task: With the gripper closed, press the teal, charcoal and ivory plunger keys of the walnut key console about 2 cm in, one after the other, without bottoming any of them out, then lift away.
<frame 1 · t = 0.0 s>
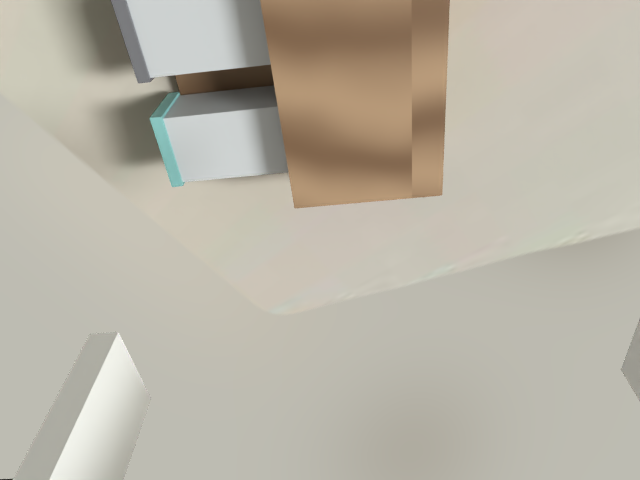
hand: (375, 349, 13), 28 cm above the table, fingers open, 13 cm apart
teal key: (257, 130, 35), point 4 cm above the table, slide at 0.0 cm
charcoal key: (234, 19, 31), point 3 cm above the table, slide at 0.0 cm
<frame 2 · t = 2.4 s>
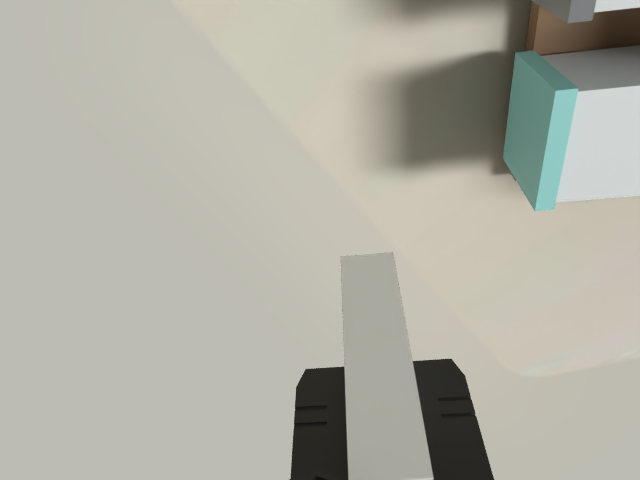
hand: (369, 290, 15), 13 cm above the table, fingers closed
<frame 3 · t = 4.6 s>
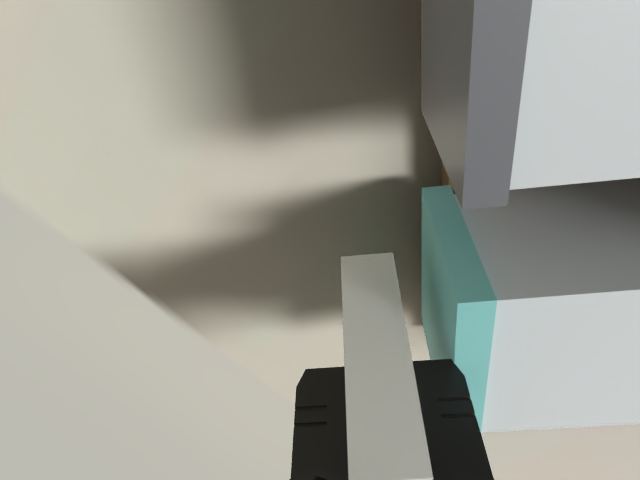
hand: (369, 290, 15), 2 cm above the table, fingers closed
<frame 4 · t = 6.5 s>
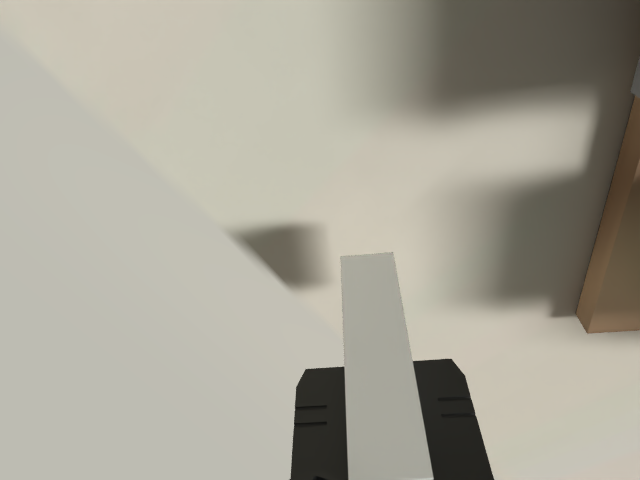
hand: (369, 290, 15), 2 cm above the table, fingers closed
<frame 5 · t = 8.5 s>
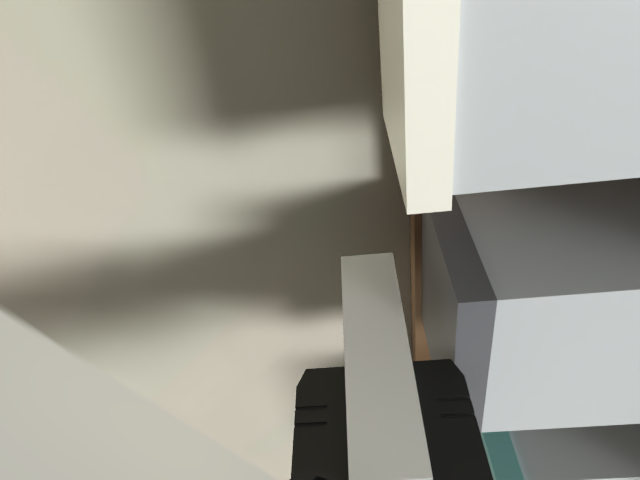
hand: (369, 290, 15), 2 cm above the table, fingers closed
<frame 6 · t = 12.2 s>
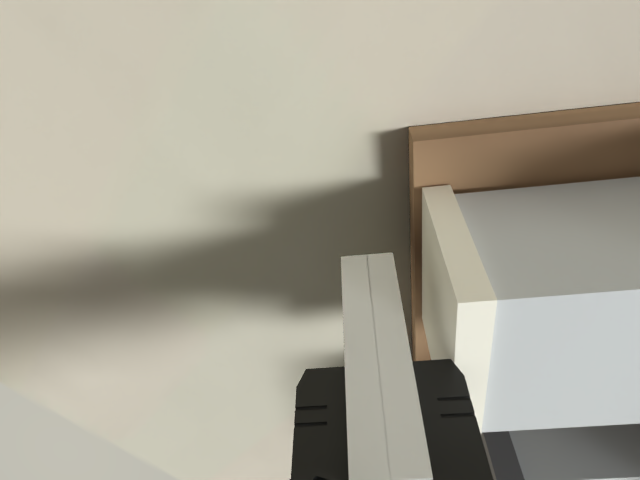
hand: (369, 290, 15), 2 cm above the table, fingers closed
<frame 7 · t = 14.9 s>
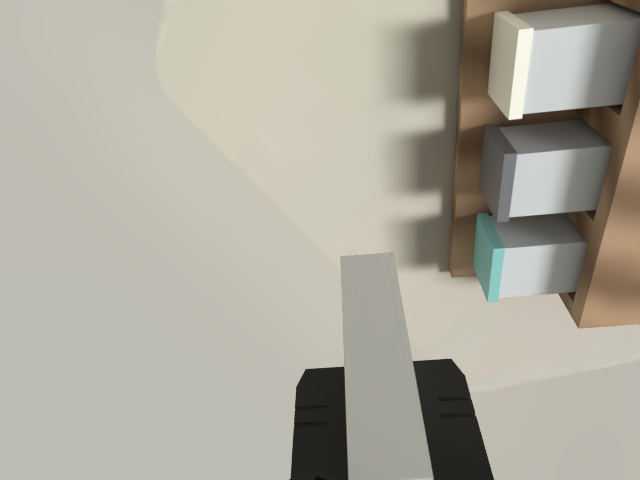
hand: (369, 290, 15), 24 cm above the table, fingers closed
ivory key: (608, 53, 30), point 4 cm above the table, slide at 2.5 cm
teal key: (565, 250, 39), point 4 cm above the table, slide at 2.5 cm
charcoal key: (584, 164, 34), point 4 cm above the table, slide at 2.5 cm
key console: (632, 136, 37), on the table
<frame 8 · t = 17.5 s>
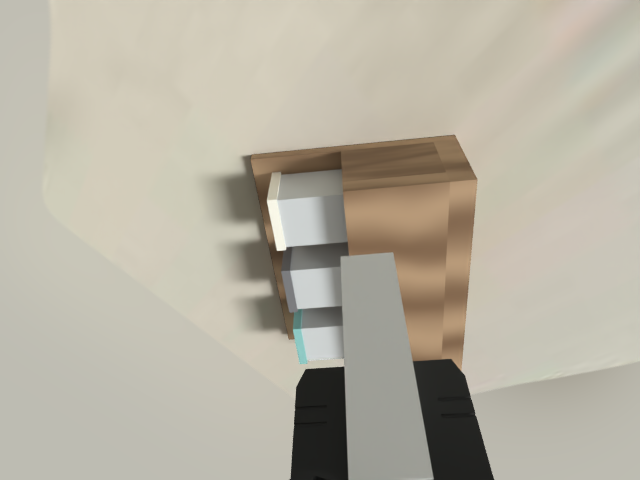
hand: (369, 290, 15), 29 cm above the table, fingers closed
ivory key: (346, 205, 43), point 4 cm above the table, slide at 2.5 cm
teal key: (357, 325, 52), point 4 cm above the table, slide at 2.5 cm
charcoal key: (352, 270, 48), point 4 cm above the table, slide at 2.5 cm
key console: (399, 245, 50), on the table
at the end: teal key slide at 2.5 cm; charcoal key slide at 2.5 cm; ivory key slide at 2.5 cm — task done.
